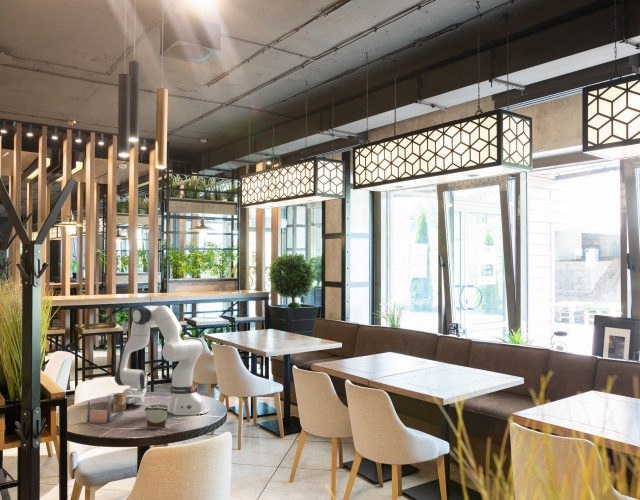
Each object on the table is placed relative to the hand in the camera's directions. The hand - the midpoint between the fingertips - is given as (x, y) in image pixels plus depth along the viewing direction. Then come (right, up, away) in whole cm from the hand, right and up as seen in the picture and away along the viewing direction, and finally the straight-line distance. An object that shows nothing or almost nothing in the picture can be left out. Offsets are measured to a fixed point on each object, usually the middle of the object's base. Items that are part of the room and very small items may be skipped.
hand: (119, 401), depth 306 cm
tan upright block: (0, -5, 0) cm, 5 cm away
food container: (+30, -5, -29) cm, 42 cm away
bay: (-1, -4, -16) cm, 16 cm away
